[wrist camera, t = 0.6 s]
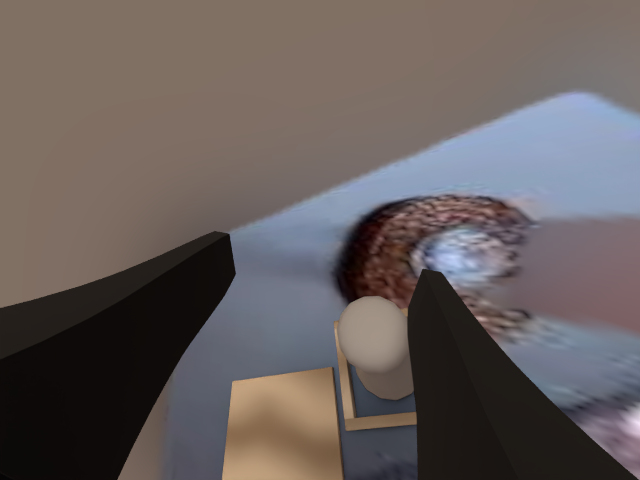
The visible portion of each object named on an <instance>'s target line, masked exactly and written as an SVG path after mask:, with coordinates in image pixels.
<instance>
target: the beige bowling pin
mask: <svg viewBox="0 0 640 480" xmlns="http://www.w3.org/2000/svg"><path fill="white" fill-rule="evenodd" d="M337 335H338V342H339V347H340V349H341V351H342V352H343V354H344V356H345V357H346V359H347V360H348V362H349V363H350V364H351V365H353V366H355V367H356V372H357V375H358V377H359V379H360V380H361V382H362V384H363V385H364V387H365V388H366V389H367V390H368V391H370V392H371V393H373V394H375V395H376V396H378V397H379V398H382V399H391V400H398V399H401V398H403V397H405V396H407V395H409V394H412V392H413V391H414V387H413V379H412V371H411V363H410V354H409V345H408V336H407V317H406V316H405V315H404V313H403V312H402V311H401V310H400V309H399V308H398V307H397V306H396V305H395V304H394V303H393V302H391V301H388V300H386V299H384V298H382V297H380V296H374V297H362V298H360V299H358V300H356V301H354V302H351V303H350V304H349V305H348V307H347V308H346V309H345V310H344V311H343V313H342V314H341V316H340V319H339V323H338V326H337Z"/></svg>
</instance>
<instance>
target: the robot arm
mask: <svg viewBox="0 0 640 480" xmlns="http://www.w3.org/2000/svg"><path fill="white" fill-rule="evenodd" d="M235 275H236V272H235V266H234V260H233V253H232V247H231V241H230V235H229V234H227V233H222V232H216V231H214V232H211V233H209V234H206V235H204V236H202V237H199V238H197V239H195V240H193V241H190V242H189V243H186V244H184V245H182V246H180V247H177V248H175V249H173V250H171V251H169V252H166V253H164V254H162V255H160V256H157V257H155V258H153V259H150V260H148V261H146V262H143V263H141V264H138V265H136V266H134V267H131V268H129V269H126V270H124V271H122V272H119V273H116V274H114V275H111V276H108V277H105V278H102V279H99V280H96V281H94V282H91V283H88V284H85V285H82V286H79V287H75V288H72V289H69V290H65V291H62V292H58V293H55V294H52V295H48V296H45V297H41V298H38V299H34V300H31V301H27V302H23V303H19V304H15V305H11V306H7V307H4V308H0V480H117V479H118V477H119V475H120V473H121V470H122V468H123V466H124V464H125V462H126V460H127V458H128V456H129V453H130V451H131V449H132V447H133V445H134V443H135V441H136V439H137V437H138V435H139V433H140V431H141V429H142V427H143V425H144V424H145V422H146V420H147V418H148V416H149V414H150V412H151V410H152V408H153V406H154V404H155V403H156V401H157V398H158V397H159V395H160V393H161V392H162V390H163V388H164V386H165V384H166V382H167V381H168V379H169V377H170V376H171V374H172V372H173V370H174V369H175V367H176V365H177V364H178V362H179V360H180V358H181V357H182V355H183V354H184V352H185V351H186V349H187V348H188V346H189V345H190V343H191V342H192V340H193V339H194V338H195V336H196V335H197V334H198V332H199V331H200V329H201V328H202V327H203V325H204V324H205V322H206V321H207V320H208V318H209V317H210V316H211V314H212V313H213V311H214V310H215V309H216V307H217V306H218V304H219V303H220V301H221V300H222V299H223V297H224V296H225V294H226V292H227V290H228V288H229V287H230V285H231V283H232V281H233V279H234V277H235ZM407 336H408V345H409V354H410V363H411V371H412V379H413V387H414V395H415V404H416V417H417V452H418V480H639V479H637V478H636V477H635V476H634V475H633V474H631V473H630V472H629V471H628V470H627V469H625V468H624V467H623V466H622V465H621V464H620V463H619V462H617V461H616V460H615V459H614V458H613V457H612V456H611V455H609V454H608V453H607V452H606V451H605V450H604V449H603V448H601V447H600V446H599V445H598V444H597V443H596V442H595V441H594V440H592V439H591V438H590V437H589V436H588V435H587V434H586V433H585V432H584V431H583V430H582V429H581V428H579V427H578V426H577V425H576V424H575V423H574V422H573V421H572V420H571V419H570V418H569V417H568V416H566V415H565V414H564V413H563V412H562V411H561V410H560V409H559V408H558V407H557V406H556V405H555V404H554V403H553V402H552V401H551V400H550V399H549V398H548V397H547V396H546V395H545V394H544V393H543V392H542V391H541V390H540V389H539V388H538V387H537V386H536V385H535V384H534V383H533V382H532V381H531V380H530V379H529V378H528V377H527V376H526V375H525V374H524V373H523V372H522V371H521V370H520V369H519V368H518V367H517V366H516V365H515V364H514V362H513V361H512V360H511V359H510V358H509V357H508V356H507V355H506V354H505V352H504V351H503V350H502V349H501V348H500V347H499V346H498V344H497V343H496V342H495V341H494V340H493V339H492V338H491V336H490V335H489V334H488V333H487V331H486V330H485V329H484V328H483V327H482V325H481V324H480V323H479V322H478V320H477V319H476V318H475V317H474V315H473V314H472V313H471V311H470V310H469V309H468V308H467V306H466V305H465V304H464V302H463V301H462V300H461V298H460V297H459V296H458V294H457V293H456V291H455V290H454V289H453V287H452V286H451V285H450V283H449V282H448V281H447V279H446V278H445V276H444V275H443V274H442V273H441V272H438V271H432V270H427V269H422V272H421V275H420V277H419V280H418V283H417V285H416V288H415V291H414V293H413V296H412V299H411V301H410V304H409V307H408V317H407Z"/></svg>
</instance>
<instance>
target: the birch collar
mask: <svg viewBox="0 0 640 480" xmlns="http://www.w3.org/2000/svg"><path fill="white" fill-rule="evenodd" d="M400 310H401V311H402V312H403V313H404V315H405V316H406V317H408V308H405V309H400ZM338 323H339V321H334V328H335V337H336V346H337V355H338V364H339V373H340V382H341V391H342V400H343V409H344V418H345V427H346V431H349V430H360V429H371V428H381V427H392V426H402V425H413V424H417V417H416V412H409V413H399V414H390V415H380V416H370V417H361V418H357V414H356V407H355V399H354V392H353V384H352V377H351V369H350V363H349V362H348V360H347V359H346V357H345V356H344V354H343V352H342V351H341V349H340V347H339V342H338V335H337V326H338Z"/></svg>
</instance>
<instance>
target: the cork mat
mask: <svg viewBox="0 0 640 480" xmlns="http://www.w3.org/2000/svg"><path fill="white" fill-rule="evenodd" d="M222 480H345V479H344V469H343V459H342V449H341V439H340V429H339V419H338V409H337V399H336V389H335V379H334V369H333V367H329V368H322V369H315V370H308V371H301V372H294V373H288V374H281V375H274V376H267V377H260V378H253V379H246V380H240V381H233V383H232V392H231V402H230V411H229V420H228V430H227V439H226V448H225V458H224V467H223V477H222Z"/></svg>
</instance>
